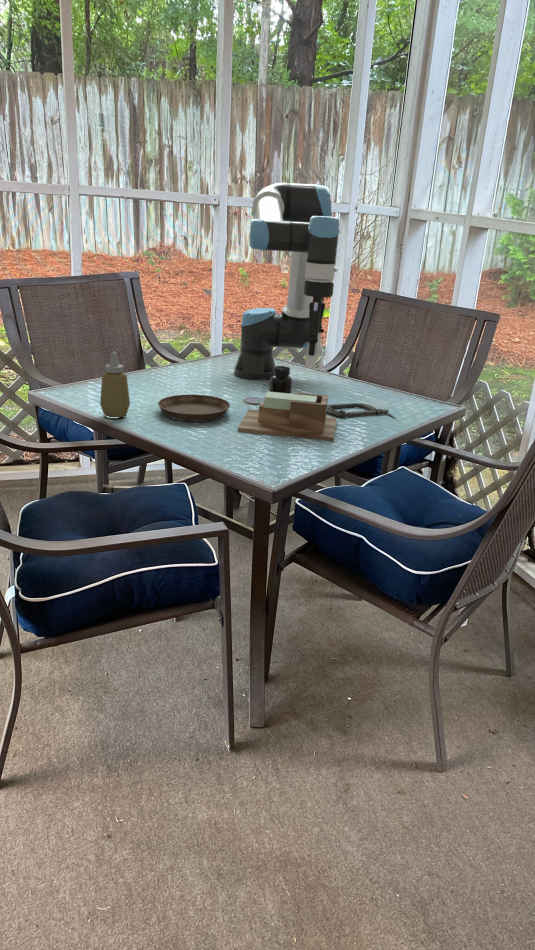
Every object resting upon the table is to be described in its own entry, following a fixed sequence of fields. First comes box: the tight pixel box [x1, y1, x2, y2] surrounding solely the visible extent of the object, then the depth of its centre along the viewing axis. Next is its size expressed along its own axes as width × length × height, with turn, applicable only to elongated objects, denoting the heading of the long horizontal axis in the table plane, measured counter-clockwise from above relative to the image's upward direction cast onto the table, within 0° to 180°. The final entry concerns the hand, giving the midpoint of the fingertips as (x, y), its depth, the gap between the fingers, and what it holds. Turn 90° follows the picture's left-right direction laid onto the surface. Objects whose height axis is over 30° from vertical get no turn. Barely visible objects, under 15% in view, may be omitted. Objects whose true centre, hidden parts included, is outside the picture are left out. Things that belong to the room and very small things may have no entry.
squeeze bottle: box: [99, 351, 131, 418], centre depth 182 cm, size 8×8×18 cm
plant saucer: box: [157, 394, 231, 423], centre depth 192 cm, size 21×21×3 cm
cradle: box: [237, 391, 337, 442], centre depth 185 cm, size 18×26×8 cm
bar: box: [263, 391, 317, 410], centre depth 184 cm, size 6×14×3 cm, turn 82°
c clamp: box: [326, 402, 396, 419], centre depth 202 cm, size 20×17×3 cm
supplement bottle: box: [268, 365, 293, 394], centre depth 203 cm, size 7×7×12 cm
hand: (312, 361), depth 179 cm, fingers open, 13 cm apart
